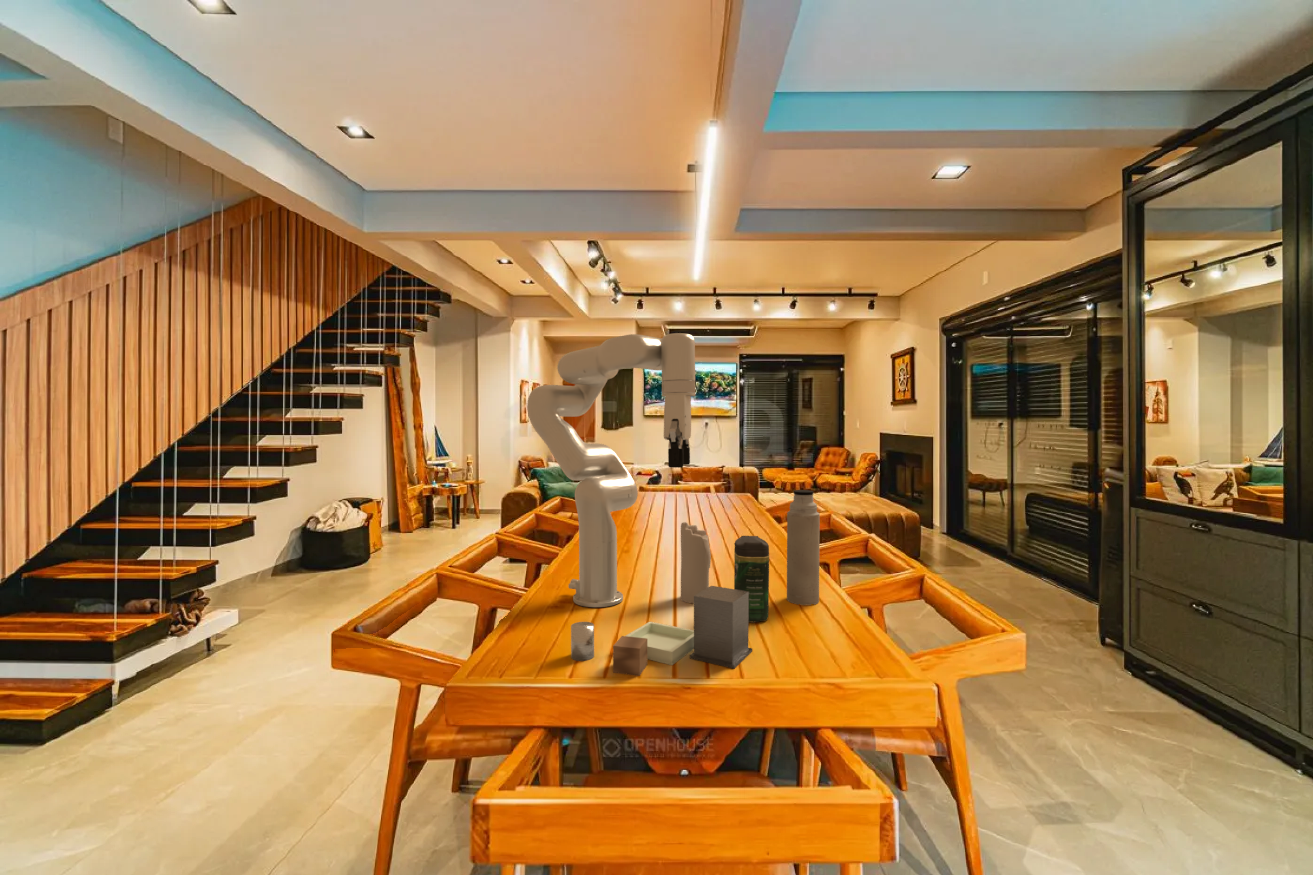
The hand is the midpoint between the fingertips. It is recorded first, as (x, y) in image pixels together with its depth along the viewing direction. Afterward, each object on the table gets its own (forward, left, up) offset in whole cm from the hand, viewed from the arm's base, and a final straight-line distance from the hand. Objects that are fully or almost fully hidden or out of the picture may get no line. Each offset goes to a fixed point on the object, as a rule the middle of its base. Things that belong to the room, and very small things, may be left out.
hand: (679, 465), depth 130 cm
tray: (+4, -15, -35) cm, 39 cm away
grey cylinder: (-7, -26, -36) cm, 45 cm away
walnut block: (+4, -26, -36) cm, 44 cm away
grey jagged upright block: (-1, +18, -36) cm, 40 cm away
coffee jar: (+13, +12, -36) cm, 40 cm away
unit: (+16, -12, -35) cm, 41 cm away
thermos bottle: (+20, +30, -36) cm, 50 cm away
